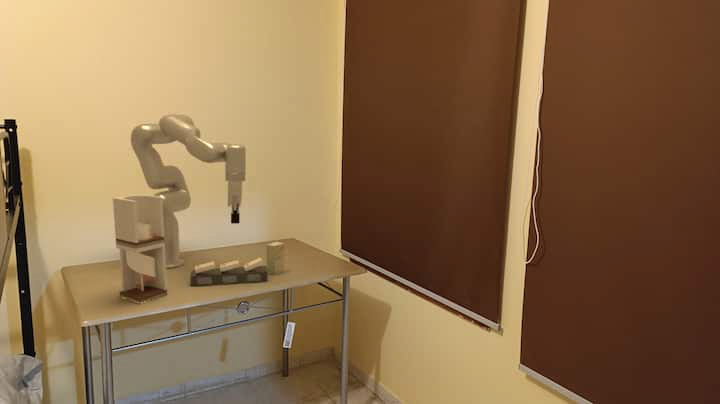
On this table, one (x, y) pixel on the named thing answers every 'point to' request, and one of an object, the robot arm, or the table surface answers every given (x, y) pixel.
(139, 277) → the display case
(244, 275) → the power strip
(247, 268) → the rocker
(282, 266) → the skincare box
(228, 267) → the cream flat rectangular block
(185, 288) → the table surface
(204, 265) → the rocker
